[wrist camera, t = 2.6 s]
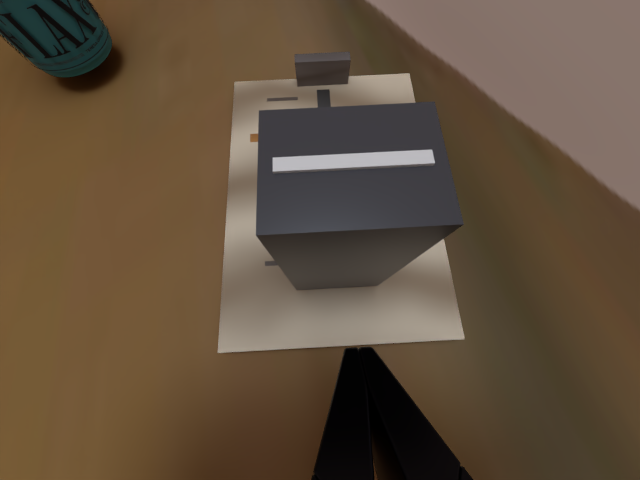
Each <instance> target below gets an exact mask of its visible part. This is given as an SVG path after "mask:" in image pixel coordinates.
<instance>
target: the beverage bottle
mask: <svg viewBox="0 0 640 480" xmlns="http://www.w3.org/2000/svg"><path fill="white" fill-rule="evenodd" d="M92 6H93V5H92ZM92 6H91V2H89V1H88V0H0V34H1V35H2V36H3V38H4V37H5V38H6V39H7V42H8V41H9V42H10V44H11V45H12V47H13V45H14V46H15V48H17V49H18V51H20V52H21V53H22V54H23V55H24V57H25V56H26V57H27V58H28V59H29V60H30V61H31V62H32V63H33V64H34V65H35V66H37V67H38V68H39V69H42V70H43V71H45V72H46V73H48V74H50V75H53V76H56V77H73V76H78V75H81V74H84V73H87V72H89V71H91V70H93V69H94V68H96V67H97V66H99V65H100V64H101V63H102V62H103V61H104V60H105V59H106V58H107V56H108V55H109V53H110V51H111V47H112V40H111V37H110V35H109V32H108V28H106V27H105V25H104V24H103V23H102V22H103V20H102V21H101V20H100V17H101V16H100V17H99V16H98V13H97V12H96V11H95V10H94V8H93V7H94V6H93V7H92ZM101 19H102V18H101ZM105 24H106V23H105ZM106 26H107V25H106ZM1 35H0V36H1ZM3 38H2V39H3ZM4 40H5V39H4ZM5 41H6V40H5ZM9 42H8V44H9ZM10 44H9V45H10ZM11 45H10V46H11ZM13 48H14V47H13ZM17 49H16V51H17ZM18 51H17V52H18ZM20 52H19V53H20ZM21 53H20V55H21ZM22 57H23V56H22ZM26 60H27V59H26ZM31 65H32V64H31ZM35 66H34V67H35ZM37 67H36V68H37Z"/></svg>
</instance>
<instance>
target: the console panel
mask: <svg viewBox="0 0 640 480" xmlns="http://www.w3.org/2000/svg"><path fill="white" fill-rule="evenodd" d="M295 68H296V77H297V79H285V80H265V81H244V82H235V85H234V101H233V117H232V133H231V149H230V165H229V181H228V197H227V213H226V229H225V245H224V261H223V277H222V293H221V309H220V325H219V341H218V353H225V352H243V351H261V350H279V349H296V348H314V347H332V346H350V345H368V344H386V343H404V342H422V341H439V340H457V339H465V338H464V333H463V329H462V324H461V319H460V314H459V309H458V305H457V300H456V295H455V290H454V286H453V281H452V276H451V271H450V266H449V262H448V257H447V252H446V247H445V242H444V239H442V240H441V241H440V242H438V243H437V244H435V245H434V246H433V247H431V248H430V249H428V250H427V251H426V252H424V253H423V254H421V255H420V256H419V257H417V258H416V259H414V260H413V261H412V262H410V263H409V264H407V265H406V266H405V267H403V268H402V269H400V270H399V271H398V272H396V273H395V274H393V275H392V276H391V277H389V278H388V279H386V280H385V281H384V282H382V283H381V284H379V285H378V286H366V287H348V288H329V289H311V290H296V289H295V287H294V286H293V285H292V283H291V282H290V281H289V279H288V278H287V277H286V275H285V274H284V273H283V271H282V270H281V269H280V267H279V266H278V264H277V263H276V262H275V260H274V259H273V258H272V256H271V255H270V254H269V252H268V251H267V250H266V248H265V247H264V246H263V244H262V243H261V242H260V240H259V239H258V238H257V236H256V206H257V164H258V123H259V110H277V109H297V108H317V107H337V106H358V105H378V104H398V103H415V99H414V94H413V89H412V84H411V80H410V75H409V74H388V75H368V76H349V69H350V52H334V53H314V54H295Z"/></svg>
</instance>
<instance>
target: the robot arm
mask: <svg viewBox="0 0 640 480" xmlns="http://www.w3.org/2000/svg"><path fill="white" fill-rule="evenodd" d="M373 461H374V465H375V469H376V473H377V478H378V480H473V479H472V478H471V476H470V475H469V474H468V472H467V471H466V470H465V468H464V467H463V466H461V467H460V462H459V461H458V459H457V458H456V457H455V455H454V454H453V453H452V451H451V450H450V449H449V447H448V446H447V445H446V444H445V442H444V441H443V440H442V438H441V437H440V436H439V434H438V433H437V432H436V430H435V429H434V428H433V426H432V425H431V424H430V422H429V421H428V420H427V418H426V417H425V416H424V415H423V413H422V412H421V411H420V409H419V408H418V407H417V405H416V404H415V403H414V401H413V400H412V399H411V397H410V396H409V395H408V393H407V392H406V391H405V390H404V388H403V387H402V386H401V384H400V383H399V382H398V380H397V379H396V378H395V376H394V375H393V374H392V372H391V371H390V370H389V368H388V367H387V366H386V365H385V363H384V362H383V361H382V359H381V358H380V357H379V355H378V354H377V353H376V351H375V350H374V349H373V348H372V347H360V348H359V349H358V348H346V349H345V350H344V354H343V358H342V362H341V366H340V370H339V373H338V377H337V381H336V385H335V389H334V393H333V397H332V401H331V405H330V409H329V412H328V416H327V420H326V424H325V428H324V432H323V436H322V440H321V444H320V448H319V451H318V455H317V459H316V463H315V467H314V471H313V473H314V475H312V478H311V480H374V467H373Z"/></svg>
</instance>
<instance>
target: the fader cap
mask: <svg viewBox="0 0 640 480" xmlns="http://www.w3.org/2000/svg"><path fill="white" fill-rule="evenodd" d="M462 225H463V220H462V215H461V211H460V207H459V203H458V199H457V194H456V190H455V186H454V182H453V178H452V173H451V169H450V165H449V161H448V157H447V152H446V148H445V144H444V140H443V136H442V131H441V127H440V123H439V119H438V114H437V110H436V106H435V102H418V103H398V104H378V105H358V106H337V107H317V108H297V109H277V110H259V123H258V164H257V206H256V236H257V238H258V239H259V240H260V242H261V243H262V244H263V246H264V247H265V248H266V250H267V251H268V252H269V254H270V255H271V256H272V258H273V259H274V260H275V262H276V263H277V264H278V266H279V267H280V269H281V270H282V271H283V273H284V274H285V275H286V277H287V278H288V279H289V281H290V282H291V283H292V285H293V286H294V287H295V289H296V290H311V289H329V288H348V287H366V286H378V285H379V284H381V283H382V282H384V281H385V280H386V279H388V278H389V277H391V276H392V275H393V274H395V273H396V272H398V271H399V270H400V269H402V268H403V267H405V266H406V265H407V264H409V263H410V262H412V261H413V260H414V259H416V258H417V257H419V256H420V255H421V254H423V253H424V252H426V251H427V250H428V249H430V248H431V247H433V246H434V245H435V244H437V243H438V242H440V241H441V240H442V239H444V238H445V237H447V236H448V235H449V234H451V233H452V232H454V231H455V230H456V229H458V228H459V227H461V226H462Z"/></svg>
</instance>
